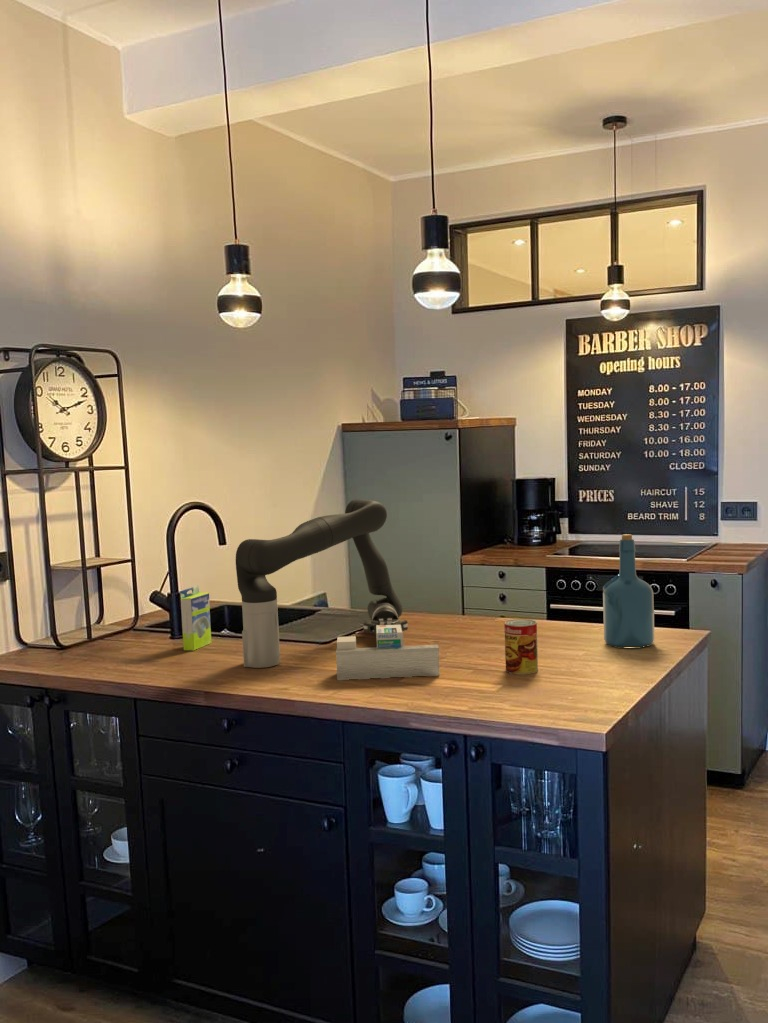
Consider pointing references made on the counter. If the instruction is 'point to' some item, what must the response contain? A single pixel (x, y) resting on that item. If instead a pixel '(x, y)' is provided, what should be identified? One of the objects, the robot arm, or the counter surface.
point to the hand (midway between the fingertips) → (386, 632)
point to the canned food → (521, 646)
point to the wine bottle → (628, 603)
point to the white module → (346, 642)
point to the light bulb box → (389, 635)
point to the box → (195, 619)
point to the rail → (387, 662)
